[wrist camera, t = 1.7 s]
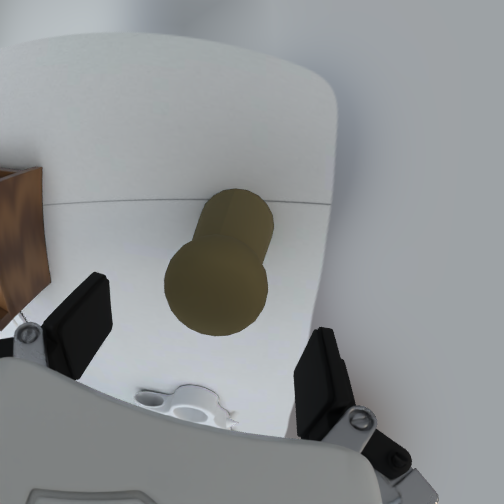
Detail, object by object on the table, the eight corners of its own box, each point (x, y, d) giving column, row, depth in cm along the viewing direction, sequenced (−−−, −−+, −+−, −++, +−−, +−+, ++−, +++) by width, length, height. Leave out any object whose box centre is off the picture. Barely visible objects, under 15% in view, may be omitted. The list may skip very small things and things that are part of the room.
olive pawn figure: (259, 268, 23) (252, 366, 13) (192, 246, 23) (142, 331, 13) (284, 202, 21) (298, 271, 11) (210, 178, 20) (155, 226, 10)
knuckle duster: (132, 373, 31) (240, 389, 31) (159, 432, 39) (239, 444, 38) (124, 391, 28) (237, 411, 28) (155, 446, 36) (238, 460, 35)
